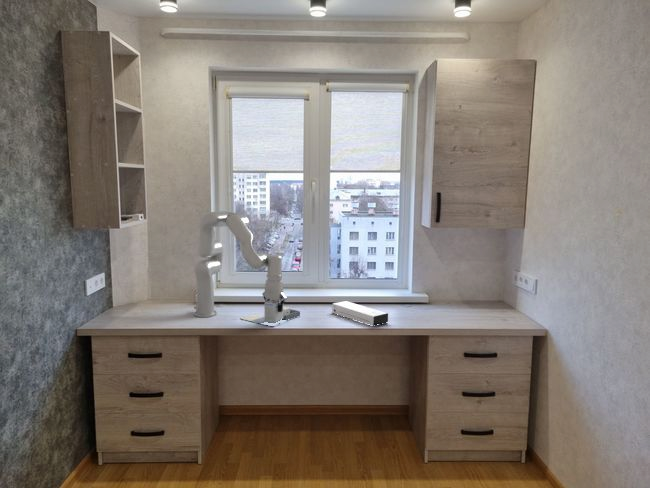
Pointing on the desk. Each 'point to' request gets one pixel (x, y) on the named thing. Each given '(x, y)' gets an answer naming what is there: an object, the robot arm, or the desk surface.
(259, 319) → the track mat
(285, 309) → the die
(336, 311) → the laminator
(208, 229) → the robot arm
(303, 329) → the desk surface
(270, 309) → the light bulb box
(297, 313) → the dice tray
